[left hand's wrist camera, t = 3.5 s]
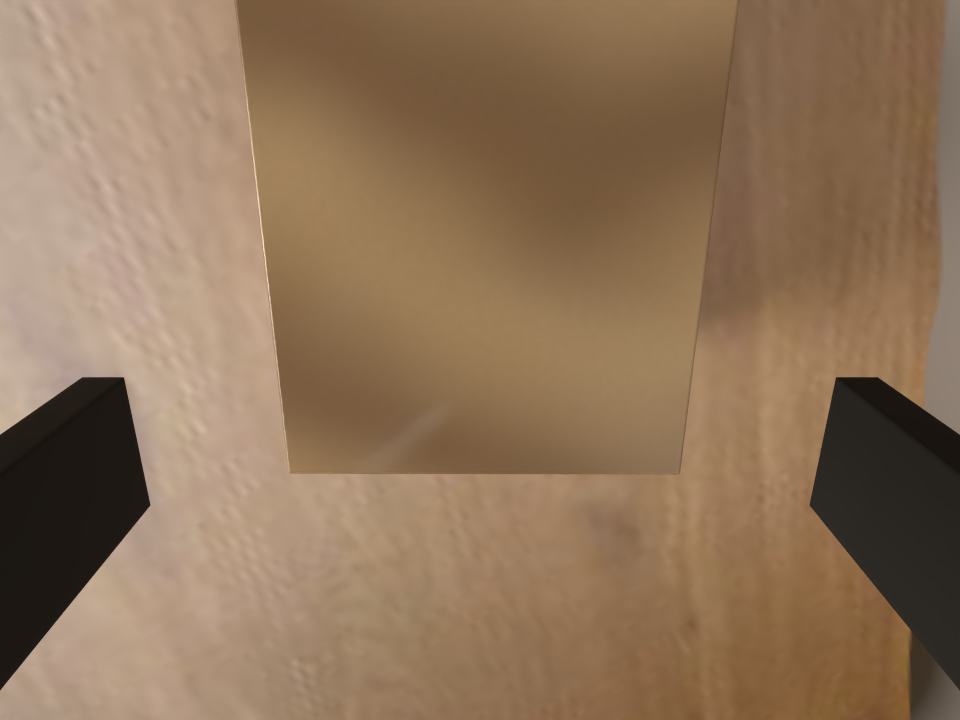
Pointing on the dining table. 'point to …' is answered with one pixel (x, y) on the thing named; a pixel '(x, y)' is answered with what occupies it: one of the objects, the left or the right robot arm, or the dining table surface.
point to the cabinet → (485, 226)
